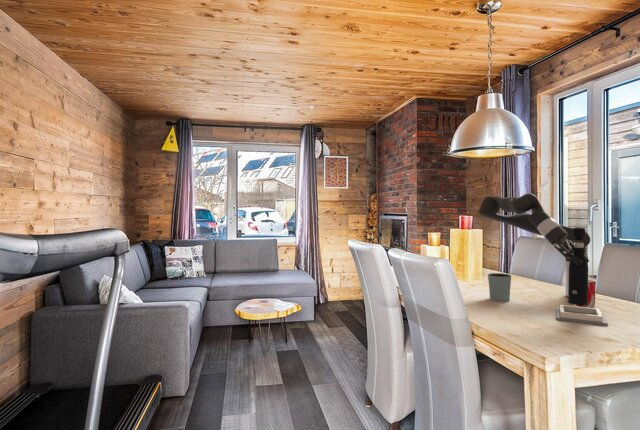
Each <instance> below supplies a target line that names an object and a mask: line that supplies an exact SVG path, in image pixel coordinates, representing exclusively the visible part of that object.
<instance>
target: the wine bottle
mask: <svg viewBox="0 0 640 430" xmlns="http://www.w3.org/2000/svg"><path fill="white" fill-rule="evenodd" d="M572 228H573V236H575V241H576V243H574V247H573V253H574V255H576V256H577V257H578V258H579V259H580V260H581V261H582V263H581V264H580V265H576V264H575V263H574V262H573V261H572V260H570V264H569V286H568V296H567V301H568V304H570V305H573V306H576V305H588V280H589V263H588V264H587V260H586V258H585V255H584V253H585V248H583V247H584V243H577V242H583V237H585V232H586V228H585V227H572Z"/></svg>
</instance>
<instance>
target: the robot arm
mask: <svg viewBox="0 0 640 430" xmlns="http://www.w3.org/2000/svg"><path fill="white" fill-rule="evenodd" d="M501 210H502V211H503V212H505V213H515V214H509V215H505V214H504V215H503V214H499V212H500V211H501ZM530 210H533V212H529V211H530ZM478 214H479V215H480V216H481V217H484V218H487V219H490V220H493V221H497V222H500V223H504V224H507V225H510V226H513V227H515V228H518V229H521V230H524V231H526V232H529V233H532V234H535V235H538V236H542V237H544V238H545V240H547V242H548V243H550V245H551V246H553V247H554V248H555V249H556V250H557V251H558V252H559V253H560V254H561V255H562V256H563V257H565V258H564V259H565V287H564V288H565V289H564V290H565V292H564V293H565V296H566V297H568V286H569V264H570V260H572V261H573V262H574V263H575V264H576V265H580V264H581V263H582V261H581V260H580V259H579V258H578V257H577V256H576V255H574V253H573V247H574V243H576V241H575V236H573V228H574V227H569V226H566V225H562V224H560V223H558V222H557V221H556V220H555V219H554V218H552V217H551V216H550V215H549V214H548V213H547V212H546V211H545V209H544V208H543V206H542V205H541V202H540V201H539V199H538V197H537V196H536V195H535V194H534V193H530V192H528V193H525V194H523V195H521V196H519V197H518V196H510V197H503V196H496V195H495V196H493V195H487V196H484V197H483V200H482V202H481V204H480V207H479V209H478ZM577 243H584V247H583V248H585V253H584V255H585V258H586V260H587V264H588V265H589V262H590V260H589V256H588V254H587V247H588V246H589V245H590V243H591V237H590V235H589V233H588V232H586V231H585V237H583V242H577Z"/></svg>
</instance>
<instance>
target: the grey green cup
mask: <svg viewBox="0 0 640 430" xmlns="http://www.w3.org/2000/svg"><path fill="white" fill-rule="evenodd" d="M487 280H488V287H489V289H488V290H489V293H488V294H489V299H490V300H491V301H493V300H494V301H493V302H498V301H501V302H500V303H505V302H507V301H508V302H510V300H511V299H510V297H511V296H510V295H511V286H512V285H511V283H512V282H511V281H512V275H511V274H509V273H502V272H501V273H500V272H492V273H487Z"/></svg>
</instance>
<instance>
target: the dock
mask: <svg viewBox="0 0 640 430" xmlns="http://www.w3.org/2000/svg"><path fill="white" fill-rule="evenodd" d="M555 316H556V321H563V322H569V323H571V322H572V323H577V324H586V325H595V326H596V325H597V326H602V327H603V326H605V327H608V325H609V323H608V321H607V319H606V317H605V315H604V314H603V312H601V310H600V308H595V307H594V308H588V307H578V306H576V305H567V304H566V305H565V304H559V308H556V309H555Z"/></svg>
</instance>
